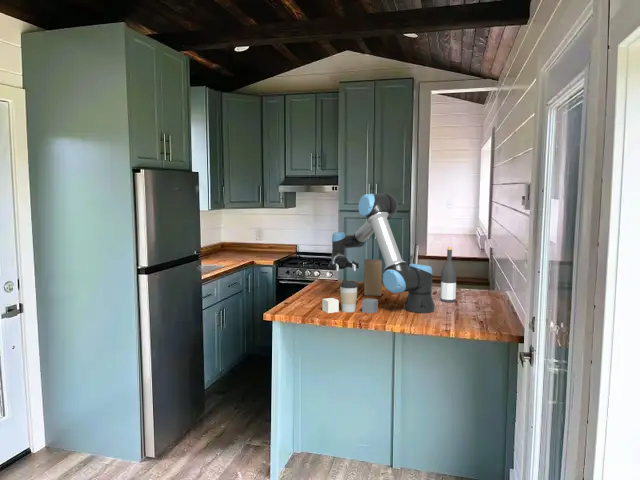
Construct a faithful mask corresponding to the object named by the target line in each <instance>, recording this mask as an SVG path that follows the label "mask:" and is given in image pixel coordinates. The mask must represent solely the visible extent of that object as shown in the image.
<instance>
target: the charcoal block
mask: <svg viewBox="0 0 640 480" xmlns="http://www.w3.org/2000/svg"><path fill="white" fill-rule="evenodd" d="M361 302H362V303H361V306H362V308H361V312H362V313H365V312H366V313H365V314H372V313H373V314H375V313H377V312H378V310H379V309H378V308H379V307H378V305H379V299H377V298H368V297H366V298H364V299H363V300H362V301H361Z"/></svg>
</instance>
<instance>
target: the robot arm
mask: <svg viewBox="0 0 640 480" xmlns="http://www.w3.org/2000/svg"><path fill="white" fill-rule="evenodd" d="M398 209H399V204H398V201H397V199H396V197H394V195H393V194H390V193H365V194H364V195H362V196H361V197H360V198H359V202H358V212H359V215H360V216H361V217H364V218H365V219H366V221H365V222H364V223H363V225H361V226H360V227H359V228H358V229H357V230H356V232H355V233H353V234H348V235H347V234H346V232H343V231H341V232H340V231H336V232H333V233H332V237H331V243H332V247H331V249H332V250H331V257H330V259H331V260H330V261H329V269H332V270H333V271H337V272H339V270H344V269H346V268H351V269H352V270H353V271H354V272H356V269H360V268H359V267H360V265H359V263H358V262H356V261H354V260H352V261H349V260H348V258H347V257H346V249H348V248H349V249H350V248H362V247H365V246H367V245H366V244H367V243H368V242H367V240H368V238H369V237H371V236H372V235H373V234H374V236H375V238H376V241H377V244H378V248H379V250H380V253H381V255H382V258H383V262H384V264H385V267H384V269H383V271H384V272H383V273H382V284H383V285H384V287H385V289H386V290H387V291H389V292H390V293H393V294H399V293H400V294H401V293H404V292H405V293H406V292H408V294H407V297H406V299H405V302H404V310H406V311H408V312H411V313H419V314H420V313H421V314H426V313H427V314H428V313H432V312H435V310H436V308H435V307H436V306H435V303H434V299H433V295H432V294H433V293H432V292H433V290H432V289H433V275H434V274H433V268H432V266H430V265H425V264H419V263H418V264H417V263H410V264H409V266H408V263H407V261H405V260H404V259H402V256H401V253H400V251H399V247H398V245H397V242H396V240H395V239H396V238H395V236H394V234H393V231H392V229H391V226H390V222H389V220H391V219H392V218H393V217H394V216H395V215H396V213H397V212H398Z"/></svg>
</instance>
